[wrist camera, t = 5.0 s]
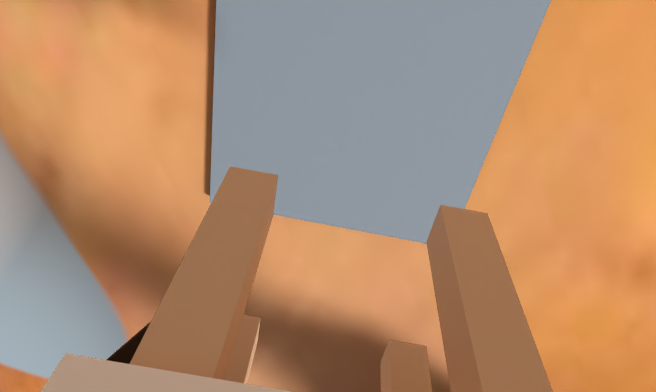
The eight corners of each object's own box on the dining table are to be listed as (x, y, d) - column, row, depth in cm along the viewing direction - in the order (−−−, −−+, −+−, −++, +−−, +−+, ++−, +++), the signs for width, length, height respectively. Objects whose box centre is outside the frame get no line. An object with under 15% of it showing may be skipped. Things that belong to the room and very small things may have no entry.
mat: (551, -13, 16) (555, -11, 16) (447, 242, 23) (448, 247, 23) (222, -80, 16) (218, -79, 16) (212, 198, 23) (209, 202, 22)
